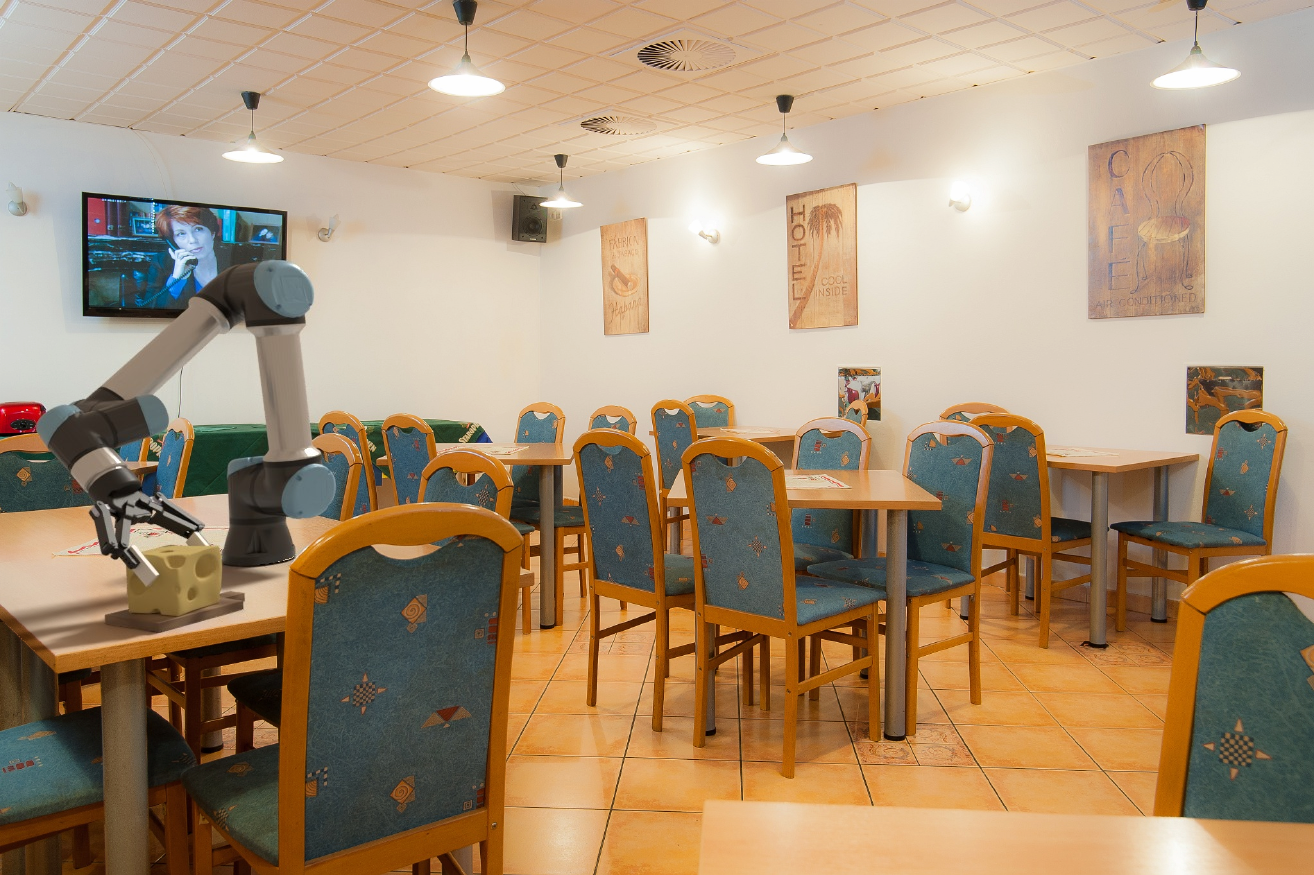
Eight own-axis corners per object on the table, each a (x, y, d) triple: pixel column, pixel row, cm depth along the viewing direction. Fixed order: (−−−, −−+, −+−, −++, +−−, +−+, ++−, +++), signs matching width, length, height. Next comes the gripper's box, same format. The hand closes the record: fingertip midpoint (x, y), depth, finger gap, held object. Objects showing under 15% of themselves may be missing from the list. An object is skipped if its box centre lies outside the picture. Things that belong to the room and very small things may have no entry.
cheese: (178, 617, 144) (176, 556, 144) (123, 613, 147) (120, 553, 146) (224, 602, 154) (222, 544, 154) (171, 598, 157) (169, 542, 156)
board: (212, 596, 165) (212, 588, 164) (263, 603, 159) (263, 595, 159) (105, 623, 146) (104, 614, 146) (158, 632, 141) (158, 623, 141)
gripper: (153, 487, 165) (225, 571, 163) (29, 505, 141) (110, 604, 139) (176, 459, 164) (249, 543, 161) (54, 472, 140) (137, 572, 137)
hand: (185, 572), depth 150 cm, fingers open, 13 cm apart
